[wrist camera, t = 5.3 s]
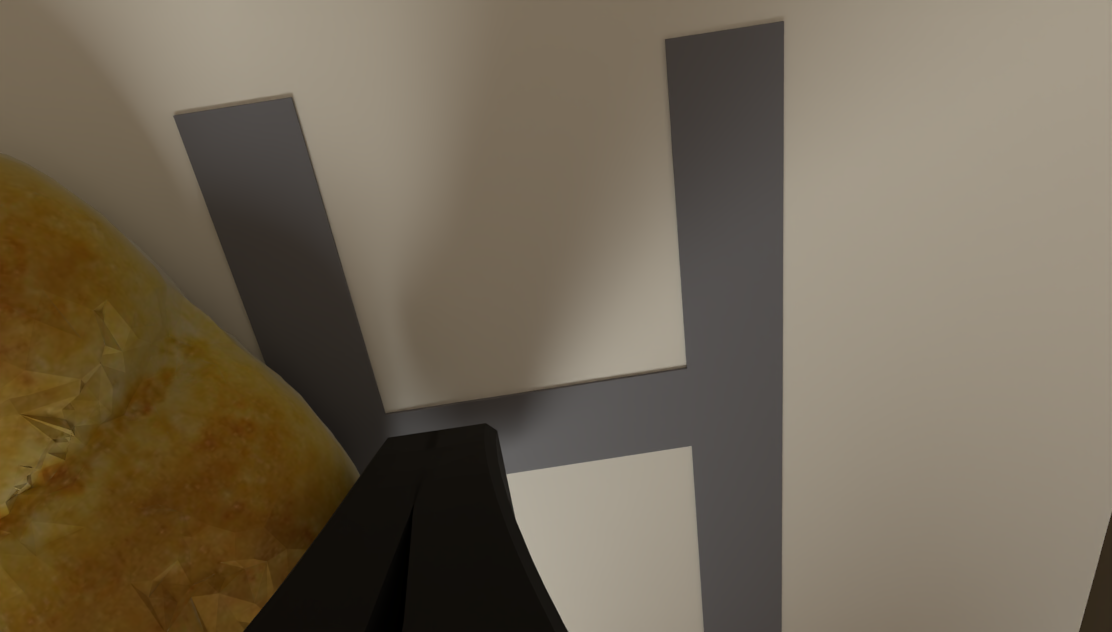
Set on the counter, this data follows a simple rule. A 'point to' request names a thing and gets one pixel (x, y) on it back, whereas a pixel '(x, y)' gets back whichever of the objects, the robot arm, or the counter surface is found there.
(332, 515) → the robot arm
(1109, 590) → the counter surface
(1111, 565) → the counter surface
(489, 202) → the letter board
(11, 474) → the bread roll
